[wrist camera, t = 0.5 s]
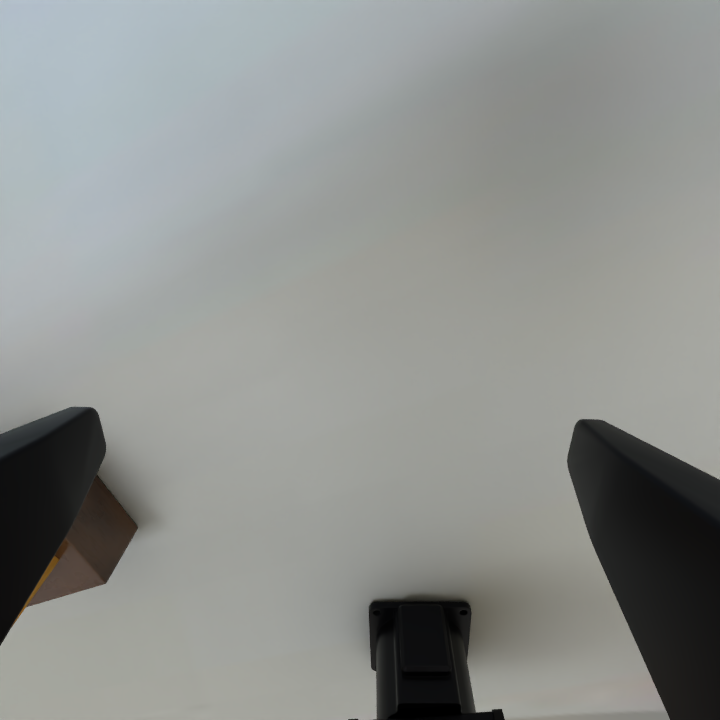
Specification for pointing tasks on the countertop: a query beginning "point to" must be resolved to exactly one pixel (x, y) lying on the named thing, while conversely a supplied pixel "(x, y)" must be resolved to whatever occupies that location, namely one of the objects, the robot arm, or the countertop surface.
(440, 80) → the countertop surface
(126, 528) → the walnut block
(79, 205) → the countertop surface
